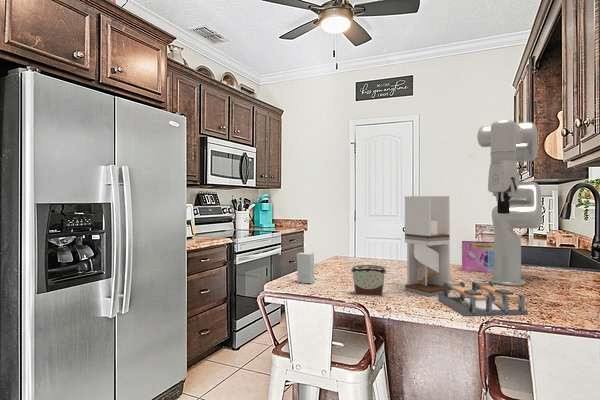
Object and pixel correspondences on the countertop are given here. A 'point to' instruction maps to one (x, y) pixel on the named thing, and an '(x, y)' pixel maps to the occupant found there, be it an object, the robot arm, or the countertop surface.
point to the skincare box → (305, 267)
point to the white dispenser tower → (427, 244)
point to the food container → (368, 279)
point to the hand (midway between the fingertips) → (503, 213)
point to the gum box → (477, 256)
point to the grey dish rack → (465, 310)
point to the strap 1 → (467, 292)
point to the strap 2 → (497, 291)
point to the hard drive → (480, 305)
